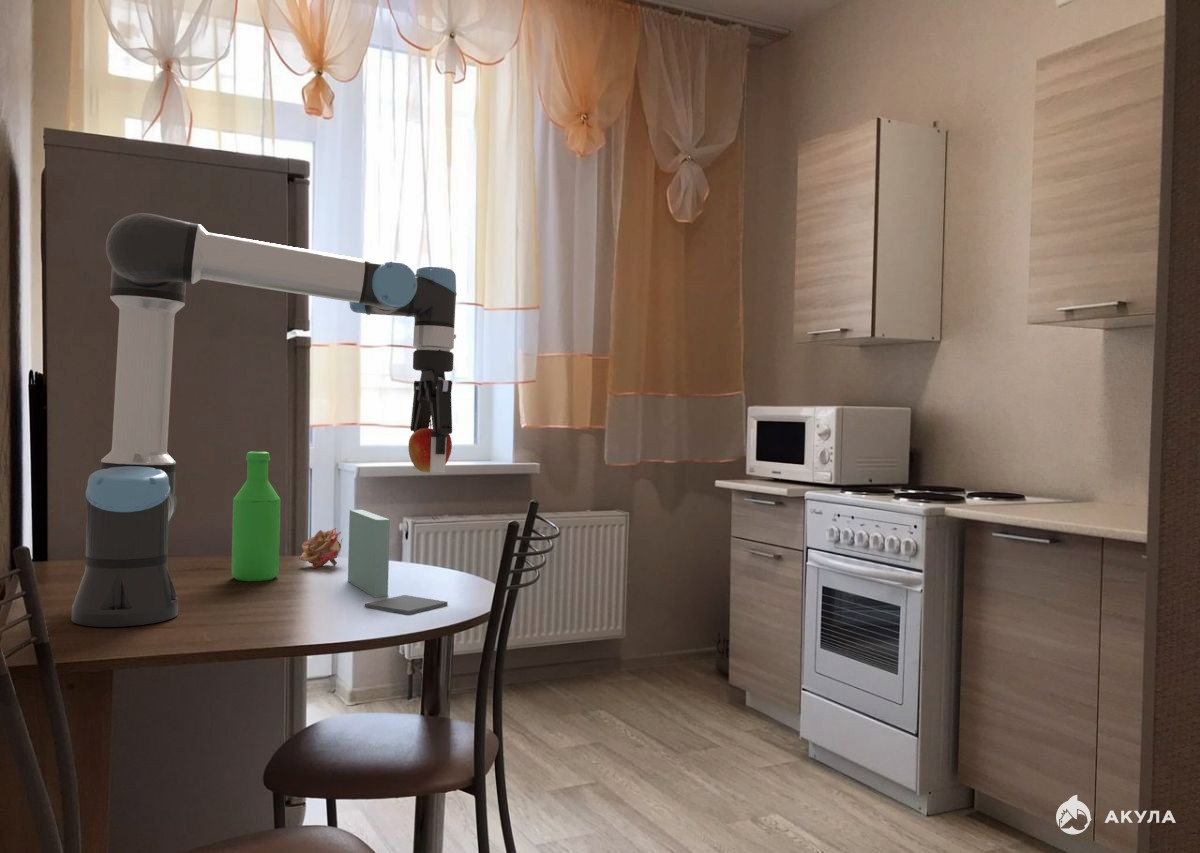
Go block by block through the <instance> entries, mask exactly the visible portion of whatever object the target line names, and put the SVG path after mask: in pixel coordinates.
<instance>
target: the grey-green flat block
mask: <svg viewBox="0 0 1200 853" xmlns="http://www.w3.org/2000/svg"><path fill="white" fill-rule="evenodd" d="M348 517H349V522H348V523H349V524H348V526H349V528H348V556H347V557H348V562H347V568H348V569H347V582H349V583H351V584H352V585H354V586H355V587H358V589H360V590H362V591H363V592H366V593H367V594H368V595H369V596H372V597H374V598H382V597H383V596H384V597H389V568H390V567H389V564H390V562H389V561H390V528H391V525H390V522H391V520H390V519H389V518H386V517H384V516H381V515H379V514H376V513H373V512H370V511H368V510H364V509H349V516H348Z"/></svg>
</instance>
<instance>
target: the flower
mask: <svg viewBox="0 0 1200 853" xmlns="http://www.w3.org/2000/svg"><path fill="white" fill-rule="evenodd" d="M336 529H337V528H336V527H334V528H333V529H331V530H327V531H323V530H322V529H319V530H318V531H317V533H316V534H315V535H314V536H311V537H309V539H307V540H304V541H303V542H302V543H301V548H302V550H303V551H302V553H301V555H300V557H299V559H300V560H301V561H303V562H308V563H309V564H310V565H311V567H312V568H313V569H317V568H321V567H323V566H324V565H326V564H327V563H328V562H330V563H331V564H332V565H333V566H336V565H337V563H338V562H337V561H336V560H335V559H337V558H338V556H339V554H340V552H341V550H342V549H341V548H342V542H343V538H344V537H342V538H341V540H340V542H339V540H338V536H339V535H341V534H342V532H341V531H339V532H337V531H336Z"/></svg>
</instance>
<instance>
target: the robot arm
mask: <svg viewBox="0 0 1200 853" xmlns="http://www.w3.org/2000/svg"><path fill="white" fill-rule="evenodd" d="M105 252H106V253H105V254H106V256H107V259H108V262H109V263H110V265H111V274H110V275H111V276H110V277H111V278H110V293H109V294H110V296H109V297H110V300H111V301H112V302H113V303H114V305H115V306H116V307H117V308H118V311H119V314H118V315H119V316H118V317H119V318H118V329H117V330H118V331H117V332H118V333H117V349H116V350H117V353H116V368H115V386H114V406H113V421H112V422H113V423H112V436H111V439H112V441H111V450H110V451H109V452H108V454H107V453H106V455H105V456H103V457H102V459H101V461H100V469H98V470H96V471H94V472H93V473H91V474H90V475H89V477H88V479H87V487H86V490H85V497H86V523H85V524H86V527H85V529H86V530H85V532H86V534H85V568H84V573H83V576H82V578H81V581H80V584H79V586H78V590H77V591H76V595H75V598H74V601H73V603H72V606H71V622H72V623H74V624H77V625H79V626H84V627H85V626H87V627H98V628H99V627H101V628H102V627H105V628H111V627H112V628H114V627H115V628H116V627H118V628H119V627H120V628H121V627H132V626H135V627H136V626H143V625H150V624H156V623H161V622H165V621H168V620H172V619H173V618H175V617H177V616H178V614H179V598H178V596H177V594H176V590H175V587H174V584H173V582H172V578H171V574H170V573H169V569H168V546H169V545H168V541H169V537H168V536H169V523H170V522H171V521H172V519H173V517H174V514H175V512H176V509H177V496H176V491H175V487H176V473H177V472H176V467H177V466H176V465H177V462H176V460H174V458H173V457H172V456H171V455H170V454H169V452H168V440H169V422H170V421H169V420H170V403H171V388H172V387H171V386H172V370H173V350H174V348H173V347H174V334H175V333H174V332H175V318H176V317H175V316H176V314H177V312H179V311H181V309H182V308H184V307H185V305H186V288H187V284H193V285H195V284H196V283H197V282H199V281H200V280H207V281H212V282H213V281H214V282H218V283H219V282H220V283H224V284H225V283H227V284H234V285H239V286H246V287H251V288H259V289H265V290H272V291H279V292H284V293H285V292H286V293H289V294H290V293H291V294H296V295H297V294H299V295H303V296H305V295H306V296H310V297H311V296H312V297H318V298H323V299H328V300H329V299H331V300H335V301H336V300H337V301H342V302H349V308H350V310H351V311H352V312H353V313H357V314H365V315H367V316H370V315H376V316H378V315H379V316H380V315H381V316H398V317H407V318H409V317H410V318H411V317H413V318H414V324H413V342H412V343H413V344H412V346H413V347H414V348H415V350H414V351H413V352H412V353H413V355H412V369H413V370H414V371H419V372H421V374H420V380H414V381H413V398H412V400H413V401H412V408H411V410H412V411H411V419H410V428H409V429H410V431H411V432H413V433H414V432H415V431H417V430H419V429H422V428H429V429H430V421H429V419H431V426H432V429H433V432H432V433H431V434H430V436H431V457H430V472H429V473H446V464H447V463H446V439H447V437H448V434H449V435H451V434H452V433H453V416H452V414H453V412H452V408H453V406H452V388H453V381H452V379H451V380H448V379H446V376H445V374H446V373H449V372H453V370H454V357H455V356H454V353H453V352H452V351H451V350H453V349H454V346H455V340H456V338H457V335H456V334H455V324H456V323H455V320H456V302H457V301H456V298H457V296H458V295H457V279H456V278H457V277H456V272H455V271H454V270H452V269H451V268H448V267H443V266H430V265H429V266H428V265H426V266H425V265H424V266H420V267H418V268H417V269H416V273H414V271H413V270H412V268H410V267H409V266H408V265H407V264H405V263H403V262H401V261H400V262H399V261H387V262H379V261H375V260H369V259H368V260H366V259H362V258H357V257H351V256H345V255H338V254H335V253H334V254H333V253H328V252H323V251H322V252H321V251H318V250H310V249H307V248H300V247H293V246H288V245H282V244H277V243H272V242H271V243H270V242H265V241H259V240H255V239H254V240H253V239H249V238H242V237H237V236H231V235H226V234H225V235H224V234H220V233H219V234H218V233H215V232H214V233H213V232H208V231H207V230H206V229H205V228H204V226H202V224H199V223H195V222H194V223H193V222H189V221H184V220H180V219H175V218H171V217H166V216H162V215H159V214H153V213H146V212H145V213H144V212H141V213H132V214H129V215H127V216H124V217H123V218H121V219H120V220H118V221H117V222H116V223H114V225H113V226H112V227H111V228H110V231H109V232H108V233H107V238H106V241H105ZM413 470H418V469H417V468H416V467H415V466H414V465H413Z"/></svg>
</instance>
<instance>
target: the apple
mask: <svg viewBox="0 0 1200 853" xmlns="http://www.w3.org/2000/svg"><path fill="white" fill-rule="evenodd" d="M429 421H430V423H429V428H422V429H419V430H417V431H415V432H414V431H413V433H412V434H411V436H410V437H409V440H408V455H409V458H410V460H411V463H412V464H413V467H414V466H415V467H416V468H417V469H416V470H418V471H420V472H422V473H431V472H430V457H431V436H430V434H431V433H432V432H433V428H432V418H430V419H429ZM452 444H453V441H452V437H451V434H448V437H447V439H446V464H447V463H448V461H449V459H450V457H451V453H452V447H453V445H452Z"/></svg>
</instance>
